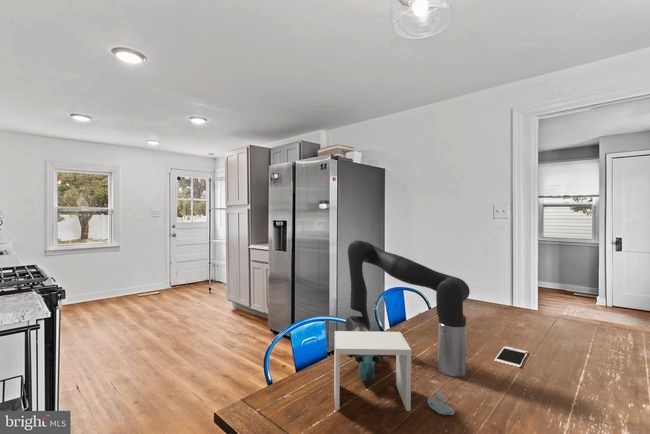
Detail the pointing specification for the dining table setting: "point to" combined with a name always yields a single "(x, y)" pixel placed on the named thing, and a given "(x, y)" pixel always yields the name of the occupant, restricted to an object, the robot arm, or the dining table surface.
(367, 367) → the teal bottle
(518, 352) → the cell phone
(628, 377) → the dining table surface
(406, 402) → the low shelf
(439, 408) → the pacifier
